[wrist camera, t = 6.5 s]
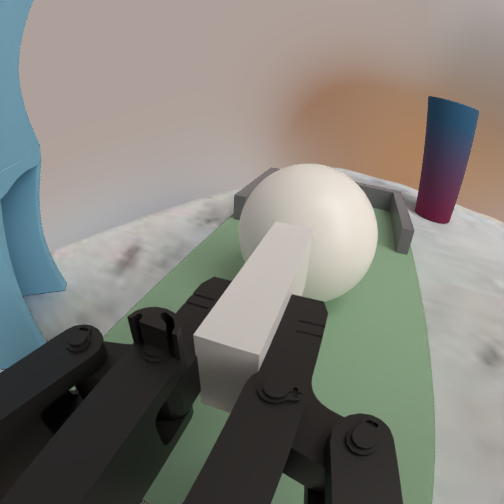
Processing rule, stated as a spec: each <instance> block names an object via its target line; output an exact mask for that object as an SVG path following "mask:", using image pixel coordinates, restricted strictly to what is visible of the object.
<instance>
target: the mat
mask: <svg viewBox="0 0 504 504" xmlns="http://www.w3.org/2000/svg"><path fill="white" fill-rule="evenodd" d="M373 210H374V213H375V217H376V221H377V228H378V240H377V247H376V252H375V255H374V258H373V261H372V263H371V265H370V267H369V269H368V271H367V272H366V274H365V275H364V276H363V278H362V279H361V280H360V281H359V282H358V283H357V284H356V285H355V286H354V287H353V288H352V289H351V290H349V291H348V292H346V293H345V294H343V295H341V296H340V297H337V298H335V299H333V300H330V301H326V302H324V303H325V306H326V309H327V311H328V317H327V321H326V326H325V330H324V334H323V338H322V342H321V346H320V350H319V354H318V358H317V362H316V365H315V369H314V373H313V376H312V389H313V392H314V394H315V396H316V398H317V399H318V400H319V401H320V402H321V403H322V404H323V405H324V406H326V407H327V408H328V409H330V410H332V411H334V412H335V413H337V414H339V415H341V416H343V417H346V416H348V415H352V414H358V413H362V414H370V415H373V416H375V417H377V418H379V419H381V420H382V421H383V422H384V423H385V424H386V425H387V426H388V427H389V428H390V430H391V433H392V435H393V438H394V443H395V449H396V456H397V462H398V469H399V475H400V483H401V491H402V499H403V504H432V496H433V483H434V463H435V417H434V395H433V381H432V370H431V360H430V351H429V343H428V335H427V328H426V321H425V315H424V309H423V303H422V298H421V292H420V287H419V282H418V277H417V272H416V268H415V263H414V259H413V254H412V250H411V246H410V247H409V251H408V254H407V255H405V254H400V253H396V249H395V243H394V236H393V230H392V224H391V218H390V213H389V211H385V210H381V209H376V208H373ZM239 222H240V220H236V219H234V214H233V215H232V216H230V217H229V218H228V219H227V220H226V221H225V222H224V223H223V224H222V225H221V226H219V227H218V228H217V229H216V230H215V231H214V232H213V233H212V234H211V235H210V236H208V237H207V238H206V239H205V240H204V241H203V242H202V243H201V244H200V245H199V246H198V247H196V248H195V249H194V250H193V251H192V252H191V253H190V254H189V255H188V256H187V257H186V258H185V259H184V260H182V261H181V262H180V263H179V264H178V265H177V266H176V267H175V268H174V269H173V270H172V271H171V272H170V273H169V274H168V275H167V276H166V277H164V278H163V279H162V280H161V281H160V282H159V283H158V284H157V285H156V286H155V287H154V288H153V289H152V290H151V291H150V292H149V293H148V294H147V295H146V296H145V297H144V298H143V299H142V300H141V301H139V302H138V303H137V304H136V305H135V306H134V307H133V308H132V309H131V310H130V311H129V312H128V313H127V314H126V315H125V316H124V317H123V318H122V319H121V320H120V321H119V322H118V323H117V324H116V325H115V326H114V327H113V328H112V329H111V330H110V331H109V332H108V333H107V334H106V335H105V336H104V337H103V339H104V341H107V342H114V343H122V344H133V343H134V341H133V338H132V334H131V330H130V326H129V322H128V318H127V316H129V315H130V314H132V313H133V312H134V311H137V310H139V309H142V308H145V307H161V308H166V309H168V310H170V311H172V312H174V313H175V314H176V312H177V311H178V310H179V309H180V308H181V306H182V305H183V304H184V303H186V301H187V299H188V298H189V297H190V296H191V295H193V292H194V291H195V290H196V289H197V288H198V287H199V285H200V284H201V283H203V282H205V281H207V280H209V279H211V278H212V277H218V278H222V279H226V280H230V281H233V279H234V278H235V277H236V275H237V274H238V273H239V271H240V270H241V268H242V267H243V266H244V264H245V262H244V259H243V257H242V254H241V250H240V245H239V233H238V231H239ZM75 389H76V387H75V386H74V387H72V388H71V389H70V390H75ZM193 411H194V412H193V415H192V419H191V420H190V422H189V424H188V426H187V427H186V429H185V431H184V432H183V434H182V436H181V437H180V439H179V441H178V442H177V444H176V446H175V447H174V449H173V451H172V452H171V454H170V456H169V457H168V459H167V461H166V462H165V464H164V466H163V467H162V469H161V470H160V472H159V474H158V475H157V477H156V479H155V480H154V482H153V483H152V485H151V487H150V488H149V490H148V491H147V493H146V495H145V496H144V498H143V499H142V500H144V501H146V502H148V503H150V504H182V503H183V502H184V500H185V498H186V496H187V495H188V493H189V491H190V489H191V487H192V485H193V484H194V482H195V480H196V478H197V476H198V475H199V473H200V471H201V469H202V467H203V465H204V463H205V461H206V460H207V458H208V456H209V454H210V452H211V450H212V448H213V446H214V444H215V443H216V441H217V439H218V437H219V435H220V433H221V431H222V429H223V427H224V425H225V423H226V421H227V419H228V417H229V415H230V413H229V412H226V411H223V410H220V409H217V408H214V407H211V406H209V405H206V404H203V403H201V398H200V393H199V395H198V396H197V398H196V400H195V401H194V403H193ZM271 504H304V485H302V484H300V483H298V482H297V481H295V480H293V479H292V478H290V477H288V476H287V475H285V474H284V473H282V475H281V478H280V481H279V484H278V486H277V489H276V492H275V494H274V497H273V499H272V502H271Z"/></svg>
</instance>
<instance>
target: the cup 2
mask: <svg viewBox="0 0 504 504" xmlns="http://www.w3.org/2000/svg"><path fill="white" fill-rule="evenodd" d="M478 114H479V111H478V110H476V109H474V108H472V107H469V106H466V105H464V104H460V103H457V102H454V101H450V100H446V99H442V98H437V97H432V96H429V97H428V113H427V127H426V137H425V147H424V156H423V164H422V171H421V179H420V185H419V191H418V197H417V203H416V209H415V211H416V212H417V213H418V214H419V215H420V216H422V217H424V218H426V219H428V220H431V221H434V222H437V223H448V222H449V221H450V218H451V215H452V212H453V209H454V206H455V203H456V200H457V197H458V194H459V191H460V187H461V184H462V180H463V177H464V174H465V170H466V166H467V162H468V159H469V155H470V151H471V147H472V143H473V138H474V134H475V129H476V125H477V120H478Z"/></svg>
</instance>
